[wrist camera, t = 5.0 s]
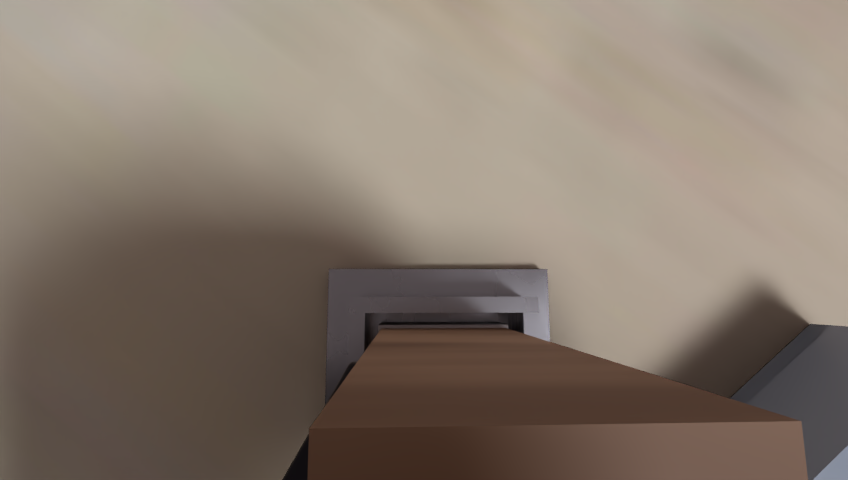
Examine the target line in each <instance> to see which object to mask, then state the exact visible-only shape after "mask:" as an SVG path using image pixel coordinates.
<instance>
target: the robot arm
mask: <svg viewBox="0 0 848 480" xmlns="http://www.w3.org/2000/svg"><path fill="white" fill-rule="evenodd" d="M357 362H358V361H353V362H351V363H350V364H349V365H348V367H347V368H346V370H345V372H344V374H343V375H342V377H341V379H340V380H339V382H338V384H337V386H336V387H335V389H334V391H333V393H332V394H331V396H330V398H329V400H330V399H331V398H332V396H333V395H334V393H335V392H336V391H337V389H338V388H339V386H340V385H341V384H342V382H343V381H344V380H345V378H346V377H347V375H348V374H349V373H350V371H351V370H352V368H353V367H354V366H355V364H356V363H357ZM329 400H328V401H327V403H328V402H329ZM327 403H326V405H327ZM326 405H325V406H326ZM325 406H324V407H325ZM323 409H324V408H323ZM308 447H309V434H308V436H307V438H306V439H305V441H304V443H303V445H302V446H301V448H300V450H299V452H298V453H297V455H296V457H295V459H294V460H293V462H292V464H291V465H290V467H289V469H288V471H287V472H286V474H285V476H284V478H283V479H282V480H307V478H308Z"/></svg>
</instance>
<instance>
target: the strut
mask: <svg viewBox="0 0 848 480" xmlns="http://www.w3.org/2000/svg"><path fill="white" fill-rule="evenodd" d="M307 480H808V475H807V466H806V457H805V448H804V439H803V430H802V421H799V420H796V419H793V418H790V417H787V416H784V415H780V414H777V413H774V412H771V411H768V410H765V409H761V408H758V407H755V406H752V405H749V404H746V403H742V402H739V401H736V400H733V399H730V398H726V397H723V396H720V395H717V394H714V393H711V392H707V391H704V390H701V389H698V388H695V387H692V386H688V385H685V384H682V383H679V382H676V381H673V380H669V379H666V378H663V377H660V376H657V375H653V374H650V373H647V372H644V371H641V370H638V369H634V368H631V367H628V366H625V365H622V364H619V363H615V362H612V361H609V360H606V359H603V358H600V357H596V356H593V355H590V354H587V353H584V352H580V351H577V350H574V349H571V348H568V347H565V346H561V345H558V344H555V343H552V342H549V341H546V340H542V339H539V338H536V337H533V336H530V335H527V334H523V333H520V332H517V331H514V330H511V329H508V324H504V323H500V322H381V323H380V324H379V325H378V334H377V335H376V337H375V338H374V339H373V341H372V342H371V344H370V345H369V346H368V348H367V349H366V350H365V352H364V353H363V355H362V356H361V357H360V359H359V360H358V362H357V363H356V364H355V366H354V367H353V368H352V370H351V371H350V373H349V374H348V375H347V377H346V378H345V380H344V381H343V382H342V384H341V385H340V386H339V388H338V389H337V391H336V392H335V393H334V395H333V396H332V398H331V399H330V400H329V402H328V403H327V405H326V406H325V407H324V409H323V410H322V411H321V413H320V414H319V416H318V417H317V418H316V420H315V421H314V423H313V424H312V425H311V427H310V428H309V447H308V478H307Z"/></svg>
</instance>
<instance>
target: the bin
mask: <svg viewBox="0 0 848 480" xmlns="http://www.w3.org/2000/svg"><path fill="white" fill-rule="evenodd" d="M730 399H733V400H736V401H739V402H742V403H746V404H749V405H752V406H755V407H758V408H761V409H765V410H768V411H771V412H774V413H777V414H780V415H784V416H787V417H790V418H793V419H796V420H799V421H802V430H803V439H804V448H805V457H806V466H807V475H808V480H848V327H846V326H832V325H817V324H810V325H809V326H808V327H807V328H805V329H804V330H803V331H802V332H801V333H800V334H799V335H798V336H797V337H796V338H795V339H794V340H792V341H791V342H790V343H789V344H788V345H787V346H786V347H785V348H784V349H783V350H782V351H781V352H779V353H778V354H777V355H776V356H775V357H774V358H773V359H772V360H771V361H770V362H769V363H768V364H766V365H765V366H764V367H763V368H762V369H761V370H760V371H759V372H758V373H757V374H756V375H755V376H754V377H752V378H751V379H750V380H749V381H748V382H747V383H746V384H745V385H744V386H743V387H742V388H741V389H739V390H738V391H737V392H736V393H735V394H734V395H733V396H732V397H731V398H730Z"/></svg>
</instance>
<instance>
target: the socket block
mask: <svg viewBox="0 0 848 480" xmlns="http://www.w3.org/2000/svg"><path fill="white" fill-rule="evenodd" d="M381 322H500V323H504V324H508V329H511V330H514V331H517V332H520V333H523V334H527V335H530V336H533V337H536V338H539V339H542V340H546V341H549V342H550V328H549V302H548V277H547V269H329V286H328V322H327V358H326V394H325V405H326V403H327V401H328V400H329V398H330V396H331V394H332V393H333V391H334V389H335V387H336V386H337V384H338V382H339V380H340V379H341V377H342V375H343V374H344V372H345V370H346V368H347V367H348V365H349V364H350V363H351V362H353V361H358V360H359V359H360V357H361V356H362V355H363V353H364V352H365V350H366V349H367V348H368V346H369V345H370V344H371V342H372V341H373V339H374V338H375V337H376V335H377V334H378V325H379V324H380V323H381Z"/></svg>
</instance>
